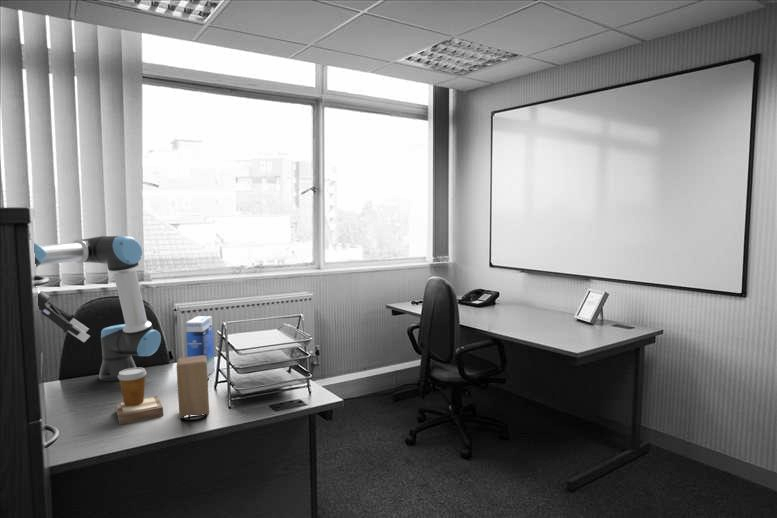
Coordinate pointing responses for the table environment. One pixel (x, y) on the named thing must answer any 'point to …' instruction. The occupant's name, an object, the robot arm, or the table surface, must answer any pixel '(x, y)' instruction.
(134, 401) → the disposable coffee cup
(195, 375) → the block
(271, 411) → the table surface
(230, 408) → the table surface
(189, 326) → the string lights box
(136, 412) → the walnut base
